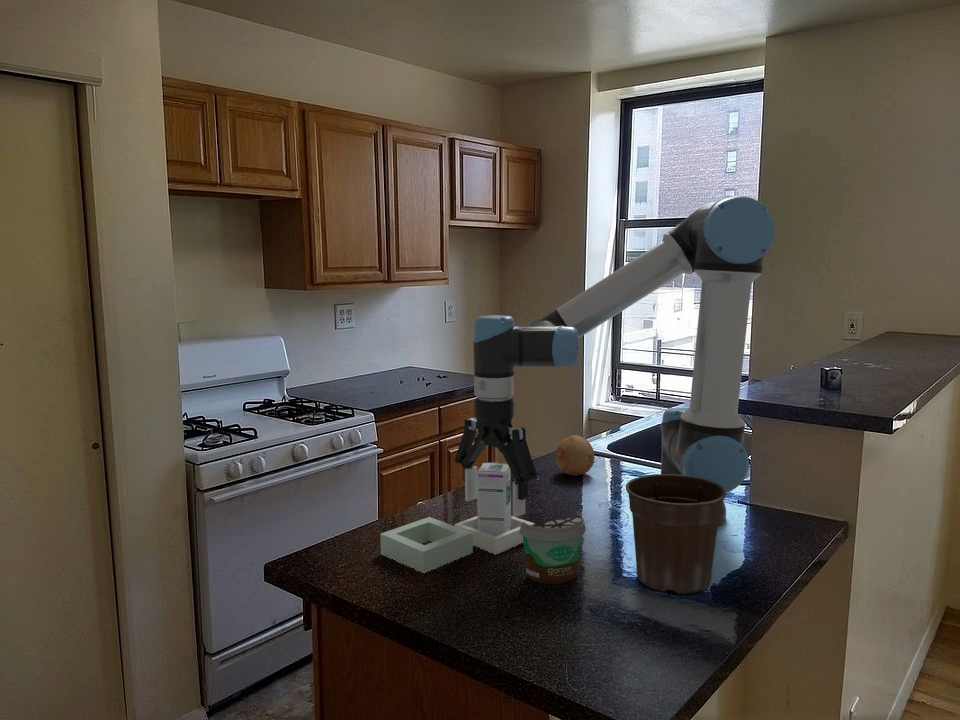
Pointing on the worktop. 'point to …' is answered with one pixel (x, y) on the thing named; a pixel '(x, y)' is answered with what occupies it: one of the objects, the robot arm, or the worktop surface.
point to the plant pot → (675, 530)
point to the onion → (575, 455)
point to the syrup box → (494, 498)
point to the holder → (494, 542)
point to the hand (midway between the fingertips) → (494, 507)
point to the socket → (424, 558)
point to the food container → (553, 549)
